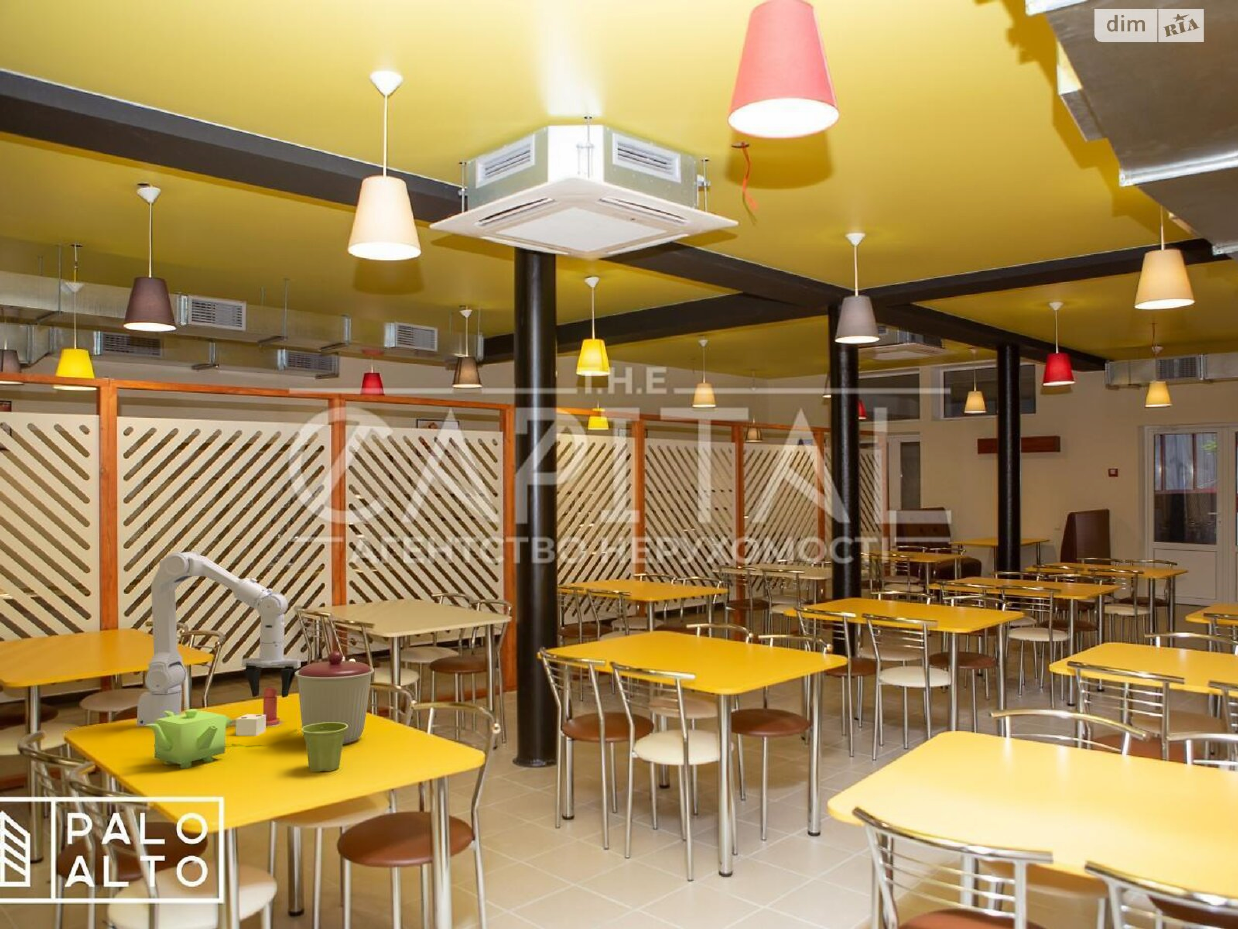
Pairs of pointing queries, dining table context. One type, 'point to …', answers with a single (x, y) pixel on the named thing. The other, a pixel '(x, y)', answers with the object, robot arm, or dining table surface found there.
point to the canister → (335, 693)
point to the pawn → (270, 706)
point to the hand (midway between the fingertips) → (270, 696)
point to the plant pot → (324, 745)
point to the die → (250, 725)
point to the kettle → (189, 737)
